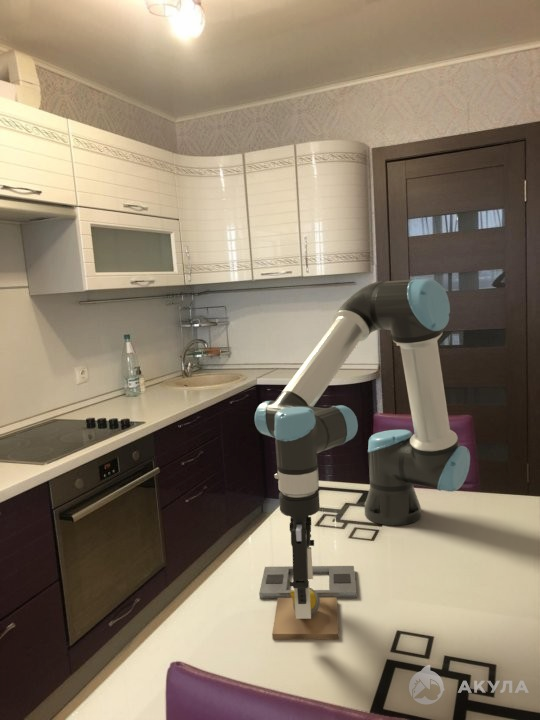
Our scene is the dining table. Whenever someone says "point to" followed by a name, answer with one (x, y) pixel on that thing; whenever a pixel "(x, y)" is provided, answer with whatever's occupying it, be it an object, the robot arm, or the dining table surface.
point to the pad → (306, 621)
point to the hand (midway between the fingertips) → (305, 596)
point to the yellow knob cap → (313, 601)
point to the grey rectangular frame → (338, 588)
